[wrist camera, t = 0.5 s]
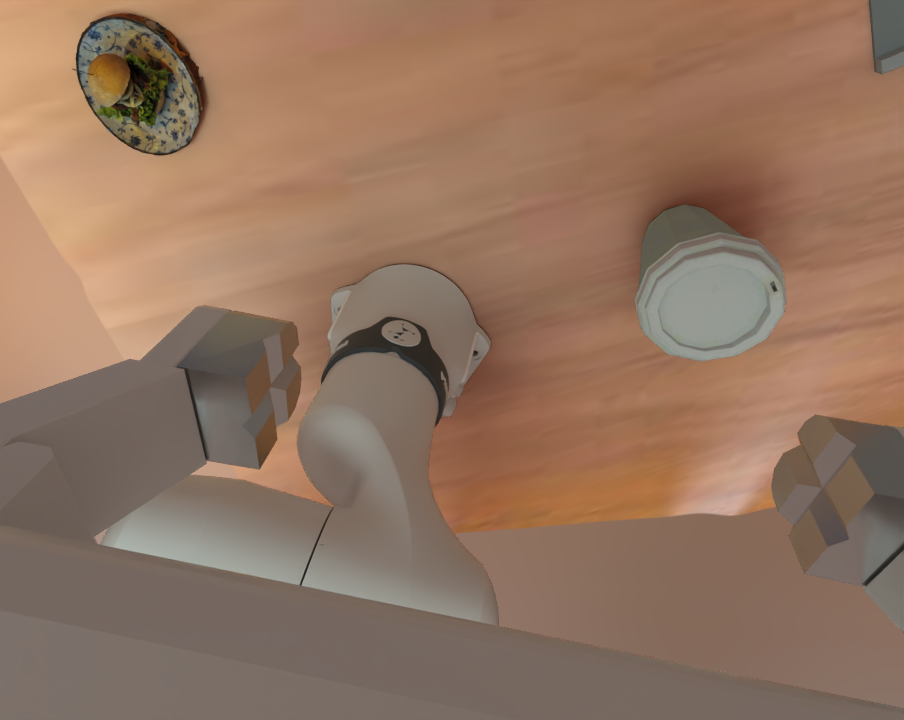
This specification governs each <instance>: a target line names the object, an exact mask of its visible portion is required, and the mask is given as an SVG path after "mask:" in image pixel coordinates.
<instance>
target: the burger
mask: <svg viewBox="0 0 904 720" xmlns="http://www.w3.org/2000/svg"><path fill="white" fill-rule="evenodd" d="M76 68H77V70H75V69H73V70H75V71H77V76H78V80H79V83H80V86H81V89H82V91H83V93H84V95H85V98H86V100H87V102H88V104H89V106H90V107H91V109H92V111H93V112H94V114H95V115H96V116H97V117H98V119H99V120H100V121H101V122H102V123H103V125H104V126H105V127H106V128H107V130H108V131H110V132H111V133H112V134H113V135H114V136H115V137H117V138H118V139H119V140H120V141H121V142H124V143H125V144H127V145H128V146H130V147H131V148H133V149H135V150H138V151H140V152H143V153H147V154H153V155H168V154H172V153H174V152H177V151H178V150H180V149H182V148H184V147H186V146H187V145H188V144H189V143H190V141H191V139H192V137H193V134H194V132H195V130H196V127H197V126H198V124H199V121H200V113H201V110H202V109H203V107H202V99H201V95H200V92H199V87H198V83H199V81H201V80H202V78H203V77H198V69H199V67H198V66H196V64H195V63H194V62H193V61H192V60H191V59H190V58H189V54H187V55H186V54H185V53H184V52H182V51H180V50H179V49H178V47H177V42H176V39H175V37H174V35H173V34H172V33H171V32H170V31H168V30H167V29H166V28H163V27H161V26H160V25H159V23H156V22H152V21H149V20H147V19H145V18H144V17H138V16H135V15H131V14H122V13H120V14H115V15H111V16H107V17H103V18H101V19H98V20H96V21H93V22H91V23H90V26H89V27H88V28H86V30H85V31H84V32H83V33H82V35H81V38H80V40H79V43H78V46H77V53H76Z"/></svg>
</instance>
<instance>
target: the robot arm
mask: <svg viewBox="0 0 904 720" xmlns="http://www.w3.org/2000/svg"><path fill="white" fill-rule="evenodd" d="M340 307H341V308H340ZM331 315H332V326H331V328H330V330H329V332H328V336H327V338H328V339H329V340H330V353H331V356H330V357H329V359H328V361H327V363H326V366H325V369H324V372H323V375H322V379H321V386H320V388H319V390H318V392H317V394H316V396H315V397H314V399H313V401H312V403H311V405H310V407H309V408H308V410H307V412H306V414H305V416H304V418H303V419H302V421H301V423H300V426H299V430H298V435H297V450H298V455H299V458H300V461H301V463H302V466H303V468H304V470H305V473H306V475H307V477H308V478H309V480H310V482H311V483H312V484H313V486H314V487H315V488H316V489H317V490H318V491H319V492H320V493H321V494H322V495H323V496H324V497H325V498H326V499H327V500H328V501H329V502H330V503H331V504H332V505H333V506H334V507H332V506H329V505H325V504H322V503H319V502H315V501H312V500H309V499H305V498H302V497H299V496H295V495H292V494H289V493H285V492H282V491H279V490H276V489H272V488H269V487H266V486H262V485H259V484H256V483H252V482H249V481H246V480H240V479H231V478H222V477H213V476H200V475H190V474H191V473H193V472H195V471H196V470H198V469H199V468H201V467H202V466H204V465H205V464H206V461H211V462H217V463H223V464H229V465H235V466H241V467H247V468H254V469H260V468H261V466H262V465H263V463H264V461H265V459H266V458H267V456H268V454H269V453H270V451H271V449H272V448H273V446H274V444H275V443H276V441H277V432H276V427H277V426H279V425H280V424H282V423H284V422H286V421H288V420H289V418H290V417H291V415H292V413H293V411H294V409H295V407H296V404H297V400H298V397H299V394H300V387H301V366H300V365H299V364H298V363H297V361H296V360H295V359H294V358H293V356H292V354H293V353H294V351H295V350H296V348H297V347H298V345H299V341H298V332H297V327H296V326H295V325H294V324H293V322H289V321H284V320H279V319H274V318H269V317H264V316H259V315H254V314H249V313H244V312H239V311H231V310H228V309H222V308H217V307H211V306H199V307H196V308H195V309H194V310H193V311H192V312H191V313H190V314H189V315H187V316H186V317H185V318H184V319H183V320H182V321H181V322H180V323H179V324H178V325H177V326H176V327H175V328H174V329H173V330H172V331H171V332H170V333H168V334H167V335H166V336H165V337H164V338H163V339H162V340H161V341H160V342H159V343H158V344H157V345H156V346H155V347H154V348H153V349H152V350H151V351H149V352H148V353H147V354H146V355H145V356H144V357H143V358H142V359H141V360H140V361H138V360H132V359H129V360H126V361H123V362H120V363H117V364H114V365H111V366H109V367H106V368H103V369H100V370H97V371H94V372H91V373H88V374H85V375H82V376H79V377H76V378H73V379H71V380H68V381H65V382H62V383H59V384H56V385H53V386H50V387H47V388H45V389H41V390H39V391H36V392H33V393H30V394H27V395H24V396H21V397H18V398H15V399H13V400H9V401H7V402H4V403H1V404H0V720H904V708H901V707H896V706H891V705H886V704H881V703H876V702H871V701H866V700H861V699H856V698H851V697H847V696H842V695H837V694H831V693H827V692H822V691H817V690H812V689H807V688H802V687H797V686H792V685H788V684H783V683H778V682H773V681H768V680H763V679H758V678H753V677H748V676H743V675H738V674H734V673H729V672H724V671H719V670H713V669H709V668H704V667H699V666H694V665H689V664H684V663H679V662H674V661H669V660H664V659H659V658H654V657H649V656H645V655H639V654H635V653H630V652H625V651H620V650H615V649H610V648H605V647H600V646H595V645H590V644H585V643H580V642H575V641H570V640H565V639H560V638H555V637H550V636H546V635H541V634H536V633H531V632H526V631H521V630H516V629H511V628H506V627H501V626H499V615H498V606H497V600H496V595H495V592H494V589H493V585H492V583H491V580H490V578H489V576H488V574H487V572H486V570H485V568H484V567H483V565H482V564H481V563H480V562H479V561H478V560H477V559H476V558H475V557H474V556H473V555H472V554H471V553H470V552H469V551H468V550H467V549H466V548H465V546H464V545H463V544H462V543H461V542H460V541H459V539H458V538H457V537H456V535H455V534H454V533H453V531H452V530H451V528H450V527H449V525H448V524H447V522H446V520H445V519H444V517H443V515H442V513H441V511H440V509H439V507H438V505H437V502H436V500H435V498H434V495H433V492H432V489H431V485H430V480H429V473H428V465H429V456H430V448H431V442H432V436H433V432H434V428H435V426H436V425H437V424H438V422H439V420H440V419H441V417H442V416H445V417H450V416H451V415H452V413H453V411H454V409H455V406H456V403H457V400H456V399H455V397H456V396H457V397H459V396H460V395H461V393H462V391H463V388H464V385H465V383H466V382H467V381H468V379H469V378H470V376H471V375H472V374H473V372H474V371H475V369H476V368H477V367H478V365H479V364H480V362H481V361H482V360H483V358H484V357H485V355H486V354H487V353H488V351H489V348H490V345H491V341H490V339H489V337H488V336H487V335H486V333H485V332H484V331H483V330H482V329H481V328H480V327H479V326H478V325H477V323H476V321H475V318H474V315H473V312H472V309H471V307H470V304H469V302H468V300H467V299H466V297H465V296H464V294H463V293H462V292H461V290H460V289H459V288H458V287H457V286H456V285H455V284H454V283H453V282H451V281H450V280H449V279H447V278H446V277H444V276H443V275H441V274H439V273H437V272H435V271H433V270H431V269H428V268H425V267H421V266H416V265H408V264H400V265H392V266H387V267H384V268H381V269H378V270H376V271H374V272H372V273H371V274H369V275H368V276H367V277H365V278H364V279H363V280H362V281H360V282H359V283H357V284H355V285H350V286H346V287H342V288H339V289H337V290H335V291H334V292H333V295H332V297H331ZM474 350H475V351H477V353H474V352H473V351H474ZM797 434H798V438H799V441H800V445H799V446H797V447H795V448H793V449H791V450H789V451H787V452H785V453H783V455H782V457H781V458H780V460H779V462H778V463H777V465H776V467H775V468H774V473H773V479H772V484H771V486H772V494H773V499H774V502H775V504H776V507H777V509H778V512H779V513H781V514H782V515H783V516H784V517H785V518H786V519H787V520H788V521H789V522H790V523H792V524H793V527H792V529H791V531H790V533H789V535H788V536H789V539H790V541H791V543H792V546H793V548H794V550H795V553H796V555H797V558H798V560H799V562H800V564H801V567H802V570H803V572H804V574H807V575H811V576H816V577H821V578H825V579H830V580H835V581H839V582H843V583H848V584H853V585H857V586H862V587H865V588H864V591H865V592H866V593H867V594H868V595H869V596H870V597H871V598H872V600H873V601H874V602H875V603H876V604H877V605H878V606H879V607H880V608H881V609H882V610H883V611H884V612H885V613H886V614H887V616H888V617H889V618H891V620H892V621H893V622H894V623H895V624H896V625H897V626H898V627H899V628H900V629H901V631H902V632H903V633H904V428H901V427H895V426H888V425H885V426H882V425H876V424H870V423H864V422H858V421H852V420H846V419H840V418H834V417H828V416H822V415H816V414H815V415H814V416H813V417H811V418H810V419H808V420H807V421H805V423H804V424H803V426H802V427H801V429H800V430H799V431H798V433H797ZM108 527H109V528H108ZM107 528H108V529H107ZM105 529H107V531H106V533H105V535H104V537H103V539H102V541H101V544H100V545H99V544H97V542H96V540H95V537H94V536H96V535H97V534H99V533H101V532H102V531H104V530H105Z"/></svg>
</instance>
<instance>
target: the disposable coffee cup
mask: <svg viewBox="0 0 904 720" xmlns="http://www.w3.org/2000/svg"><path fill="white" fill-rule="evenodd" d="M635 304H636V309H637V313H638V317H639V322H640V326H641V329H642V330H643V332H644V334H645V335H646V336H647V337H648V338H649V339H650V340H652V341H653V342H654V343H655V344H656V345H657V346H658V347H660V348H661V349H662V350H663V351H664V352H665V353H666V354H669V355H674V356H679V357H683V358H688V359H692V360H697V361H706V360H712V359H719V358H725V357H732V356H737V355H739V354H741V353H743V352H744V351H746V350H748V349H749V348H751V347H753V346H755V345H756V344H758V343H760V342H762V341H763V340H765V339H767V338H768V336H769V335H770V333H771V332H772V330H773V329H774V327H775V326H776V324H777V323H778V321H779V320H780V318H781V317H782V315H783V314H784V312H785V308H784V306H785V305H786V292H785V278H784V275H783V271H782V269H781V266H780V264H779V262H778V260H777V259H776V258H775V257H774V256H773V255H772V254H771V253H770V252H769V251H768V250H767V249H766V248H765V247H764V246H763V245H762V244H761V243H760V242H759V240H755V239H750V238H745V237H744V236H743V235H741V234H740V233H738V232H737V231H736V230H734V229H733V228H731V227H730V226H729V225H727V224H726V223H724V222H723V221H722V220H720V219H719V218H717V217H716V216H715V215H713V214H712V213H710V212H709V211H707V210H706V209H705V208H701V207H696V206H691V205H686V204H684V205H681V206H677V207H674V208H670V209H667V210H664V211H663V212H662V213H661V214H660V215H659V216H657V217H656V218H655V219H654V220H653V221H652V222H651V223H649V225H648V228H647V230H646V233H645V236H644V238H643V241H642V252H641V264H640V277H639V289H638V293H637V295H636V298H635Z"/></svg>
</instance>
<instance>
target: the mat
mask: <svg viewBox="0 0 904 720" xmlns="http://www.w3.org/2000/svg"><path fill="white" fill-rule="evenodd" d="M869 6H870V18H871V31H872V43H873V55H874V68H875V72H877V73H880V74H884V73H886V72H889V71H891V70H894V69H896V68H898V67H901V66H903V65H904V0H869Z"/></svg>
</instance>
